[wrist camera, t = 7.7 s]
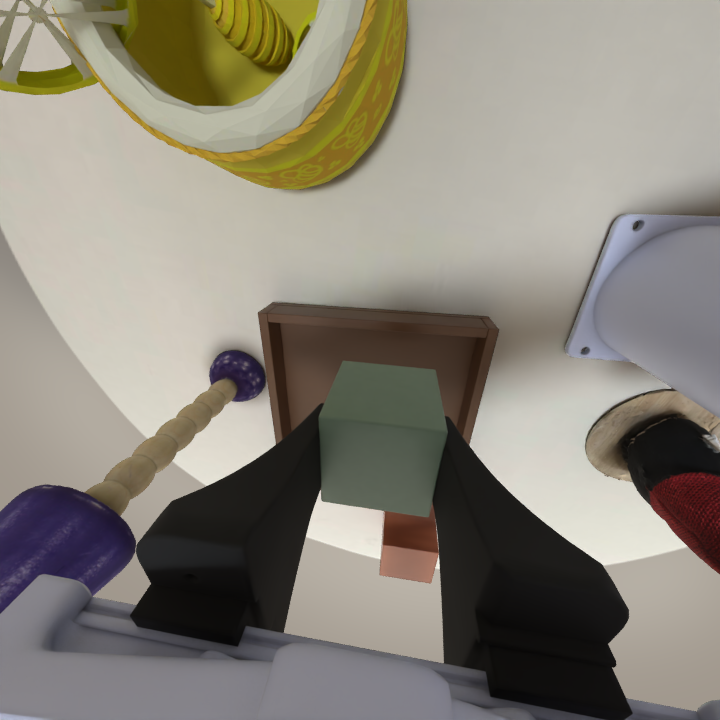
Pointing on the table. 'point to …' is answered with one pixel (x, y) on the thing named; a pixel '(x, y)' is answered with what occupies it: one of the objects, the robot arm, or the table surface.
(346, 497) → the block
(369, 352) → the tray
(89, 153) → the table surface
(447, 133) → the table surface
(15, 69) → the mug
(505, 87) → the table surface
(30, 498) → the toy lamp
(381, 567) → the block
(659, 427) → the figurine
